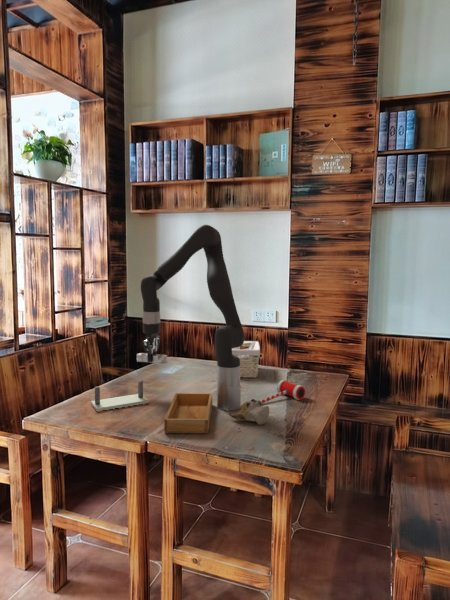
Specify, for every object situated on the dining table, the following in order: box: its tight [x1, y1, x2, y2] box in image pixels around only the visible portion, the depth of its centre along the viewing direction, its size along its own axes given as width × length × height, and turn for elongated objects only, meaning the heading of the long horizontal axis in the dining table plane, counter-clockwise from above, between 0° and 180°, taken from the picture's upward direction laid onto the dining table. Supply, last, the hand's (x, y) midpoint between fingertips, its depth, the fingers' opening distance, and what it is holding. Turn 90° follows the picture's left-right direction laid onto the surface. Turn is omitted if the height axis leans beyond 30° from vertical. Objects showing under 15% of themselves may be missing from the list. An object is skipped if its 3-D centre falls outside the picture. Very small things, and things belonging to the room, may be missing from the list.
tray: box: [163, 392, 213, 434], centre depth 173 cm, size 31×15×6 cm, turn 179°
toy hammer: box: [257, 379, 307, 406], centre depth 194 cm, size 23×12×6 cm, turn 128°
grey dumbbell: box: [136, 352, 168, 365], centre depth 198 cm, size 14×4×3 cm, turn 75°
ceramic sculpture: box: [228, 398, 270, 426], centre depth 170 cm, size 11×9×15 cm
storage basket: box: [232, 340, 261, 379], centre depth 237 cm, size 24×16×15 cm
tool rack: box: [90, 379, 149, 412], centre depth 188 cm, size 21×10×8 cm, turn 119°
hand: (151, 360), depth 198 cm, fingers closed on grey dumbbell, 3 cm apart
